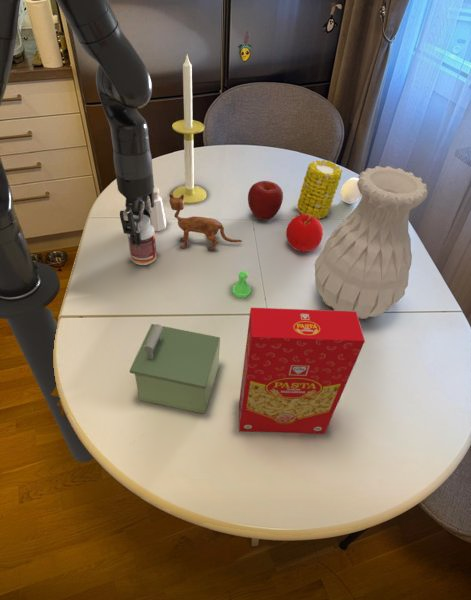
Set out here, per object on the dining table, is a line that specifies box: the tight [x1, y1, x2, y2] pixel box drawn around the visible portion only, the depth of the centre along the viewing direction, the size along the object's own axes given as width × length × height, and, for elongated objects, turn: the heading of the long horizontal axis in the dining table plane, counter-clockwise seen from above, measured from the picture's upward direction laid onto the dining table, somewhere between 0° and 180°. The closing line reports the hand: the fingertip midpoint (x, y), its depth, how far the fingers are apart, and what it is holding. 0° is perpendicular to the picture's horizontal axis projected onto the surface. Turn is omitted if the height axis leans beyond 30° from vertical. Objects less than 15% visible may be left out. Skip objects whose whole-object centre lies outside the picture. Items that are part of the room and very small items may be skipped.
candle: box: [171, 55, 208, 205], centre depth 111 cm, size 10×10×38 cm
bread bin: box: [134, 341, 221, 415], centre depth 75 cm, size 12×11×8 cm
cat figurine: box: [169, 193, 243, 251], centre depth 103 cm, size 18×7×14 cm, turn 92°
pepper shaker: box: [149, 186, 167, 233], centre depth 108 cm, size 5×5×11 cm
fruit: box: [285, 213, 324, 252], centre depth 106 cm, size 9×9×10 cm
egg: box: [340, 177, 362, 205], centre depth 124 cm, size 6×6×8 cm
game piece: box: [232, 270, 251, 299], centre depth 94 cm, size 4×4×6 cm
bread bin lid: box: [129, 323, 221, 389], centre depth 70 cm, size 13×11×4 cm
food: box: [296, 159, 343, 220], centre depth 117 cm, size 15×12×10 cm
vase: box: [314, 165, 429, 320], centre depth 85 cm, size 20×20×30 cm
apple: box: [247, 180, 284, 221], centre depth 115 cm, size 10×10×10 cm
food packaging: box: [238, 306, 366, 435], centre depth 64 cm, size 15×5×25 cm, turn 90°
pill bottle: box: [126, 214, 157, 266], centre depth 98 cm, size 6×6×11 cm
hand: (141, 235), depth 97 cm, fingers closed on pill bottle, 6 cm apart
